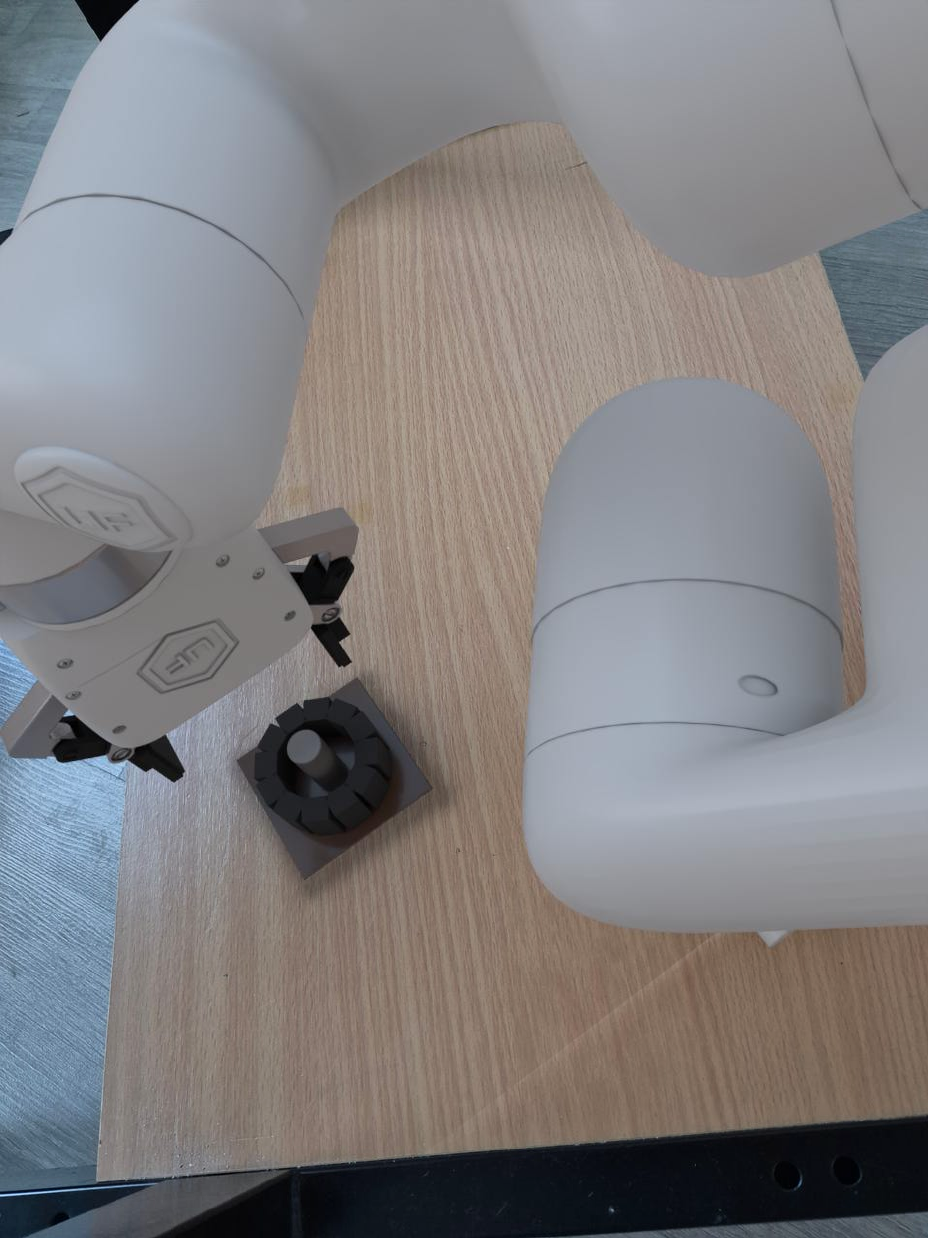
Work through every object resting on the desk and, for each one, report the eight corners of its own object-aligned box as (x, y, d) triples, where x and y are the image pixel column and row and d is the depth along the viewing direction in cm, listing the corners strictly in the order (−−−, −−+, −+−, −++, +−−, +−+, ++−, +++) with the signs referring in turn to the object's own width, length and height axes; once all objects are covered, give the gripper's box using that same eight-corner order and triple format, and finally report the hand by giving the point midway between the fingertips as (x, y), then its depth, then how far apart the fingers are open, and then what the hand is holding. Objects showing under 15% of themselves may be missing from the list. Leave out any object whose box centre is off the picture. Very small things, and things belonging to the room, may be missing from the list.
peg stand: (438, 795, 60) (412, 760, 54) (312, 885, 59) (272, 860, 53) (363, 685, 64) (332, 642, 58) (245, 768, 63) (201, 732, 57)
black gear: (414, 785, 59) (401, 769, 56) (309, 860, 58) (291, 848, 55) (352, 693, 62) (337, 674, 60) (252, 762, 61) (232, 746, 59)
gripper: (-122, 741, 32) (131, 863, 47) (330, 448, 34) (435, 655, 49) (-179, 581, 36) (74, 742, 51) (234, 323, 38) (359, 552, 53)
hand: (251, 699), depth 50 cm, fingers open, 9 cm apart
